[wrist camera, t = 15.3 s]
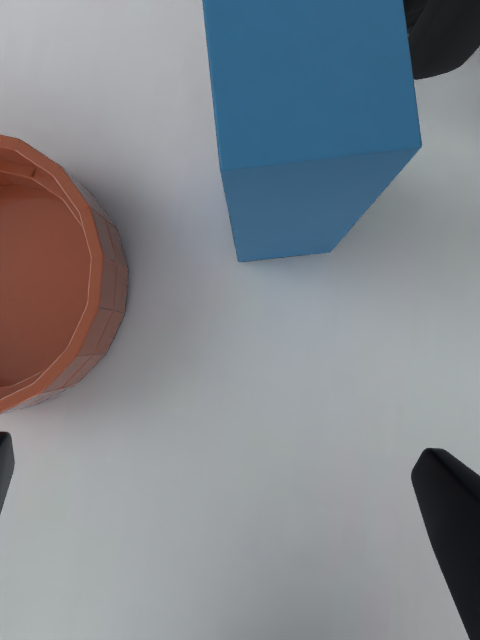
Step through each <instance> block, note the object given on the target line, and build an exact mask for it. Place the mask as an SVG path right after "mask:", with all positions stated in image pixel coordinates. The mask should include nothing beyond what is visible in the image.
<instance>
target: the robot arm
mask: <svg viewBox="0 0 480 640" xmlns="http://www.w3.org/2000/svg"><path fill="white" fill-rule="evenodd" d="M14 463H15V461H14V453H13V446H12V439H11V435H10V433H8V432H0V514H1V511H2V507H3V504H4V501H5V497H6V494H7V491H8V488H9V484H10V481H11V478H12V474H13V471H14ZM411 480H412V484H413V487H414V491H415V494H416V497H417V500H418V504H419V507H420V510H421V513H422V517H423V520H424V523H425V527H426V530H427V533H428V536H429V539H430V542H431V545H432V548H433V551H434V553H435V556H436V558H437V561H438V563H439V566H440V568H441V571H442V573H443V575H444V578H445V580H446V583H447V585H448V588H449V590H450V593H451V595H452V597H453V600H454V602H455V605H456V607H457V610H458V612H459V615H460V617H461V619H462V622H463V624H464V627H465V629H466V632H467V634H468V637H469V639H470V640H480V476H479V475H478V474H476V473H475V472H474V471H473V470H471V469H470V468H469V467H467V466H466V465H465V464H463V463H462V462H461V461H459V460H458V459H457V458H455V457H454V456H453V455H451V454H450V453H449V452H447V451H446V450H444V449H440V448H426V449H425V450H424V451H423V452H422V454H421V455H420V457H419V459H418V461H417V463H416V464H415V466H414V468H413V470H412V473H411Z"/></svg>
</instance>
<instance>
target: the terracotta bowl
mask: <svg viewBox="0 0 480 640" xmlns="http://www.w3.org/2000/svg"><path fill="white" fill-rule="evenodd" d="M127 269H128V267H127V263H126V259H125V256H124V252H123V249H122V245H121V241H120V238H119V234H118V230H117V229H116V226H115V225H114V224H113V222H112V221H111V219H110V218H109V217H108V215H107V214H106V212H105V211H104V210H103V208H102V207H101V206H100V204H99V203H98V201H97V200H96V199H95V197H94V196H93V195H92V194H91V193H90V192H89V191H88V190H87V189H86V188H85V187H83V186H82V185H81V184H80V183H79V182H78V181H77V180H76V179H75V178H73V177H72V176H71V175H70V174H69V173H68V172H67V171H66V170H65V169H63V168H62V167H61V166H60V165H59V164H57V163H55V162H54V161H52V160H51V159H49V158H48V157H46V156H45V155H43V154H42V153H40V152H39V151H37V150H36V149H34V148H33V147H31V146H30V145H28V144H27V143H25V142H24V141H22V140H20V139H17V138H13V137H9V136H4V135H0V415H1V414H4V413H8V412H11V411H14V410H18V409H21V408H25V407H28V406H31V405H35V404H38V403H40V402H42V401H44V400H46V399H48V398H50V397H52V396H54V395H56V394H58V393H60V392H63V391H65V390H67V389H69V388H71V387H73V386H75V385H76V384H77V383H78V382H79V381H80V380H81V379H82V378H83V377H84V376H85V375H86V374H87V373H88V372H89V371H90V370H91V369H92V368H93V367H94V366H95V365H96V364H97V363H98V362H99V360H100V359H101V358H102V357H103V356H104V355H105V354H106V353H107V351H108V349H109V347H110V345H111V343H112V340H113V338H114V336H115V334H116V332H117V329H118V327H119V325H120V323H121V321H122V318H123V316H124V313H125V307H126V294H127V282H128V270H127Z"/></svg>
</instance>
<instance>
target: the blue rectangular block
mask: <svg viewBox="0 0 480 640" xmlns="http://www.w3.org/2000/svg"><path fill="white" fill-rule="evenodd" d="M202 1H203V11H204V20H205V30H206V40H207V49H208V59H209V69H210V78H211V88H212V97H213V107H214V117H215V126H216V136H217V146H218V155H219V165H220V172H221V177H222V182H223V187H224V192H225V197H226V202H227V207H228V212H229V218H230V223H231V228H232V233H233V238H234V243H235V248H236V253H237V258H238V262H245V261H254V260H263V259H272V258H281V257H290V256H299V255H309V254H318V253H327V252H331V251H332V249H333V248H334V247H335V246H336V245H337V244H338V243H339V241H340V240H341V239H342V238H343V237H344V236H345V234H346V233H347V232H348V231H349V230H350V229H351V228H352V226H353V225H354V224H355V223H356V222H357V221H358V220H359V218H360V217H361V216H362V215H363V214H364V213H365V211H366V210H367V209H368V208H369V207H370V206H371V205H372V203H373V202H374V201H375V200H376V199H377V198H378V196H379V195H380V194H381V193H382V192H383V191H384V190H385V188H386V187H387V186H388V185H389V184H390V183H391V181H392V180H393V179H394V178H395V177H396V176H397V175H398V173H399V172H400V171H401V170H402V169H403V168H404V167H405V165H406V164H407V163H408V162H409V161H410V160H411V158H412V157H413V156H414V155H415V154H416V153H417V152H418V150H419V149H420V148H421V146H422V141H421V134H420V126H419V119H418V111H417V103H416V96H415V88H414V80H413V73H412V65H411V57H410V50H409V42H408V35H407V27H406V19H405V12H404V4H403V0H202Z"/></svg>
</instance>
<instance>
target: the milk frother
mask: <svg viewBox="0 0 480 640" xmlns="http://www.w3.org/2000/svg"><path fill="white" fill-rule="evenodd" d="M403 4H404V12H405V19H406V27H407V33H409V32H410V36H409V37H408V42H409V50H410V57H411V65H412V73H413V79H415V80H418V79H423V78H428V77H433V76H437V75H440V74H444V73H447V72H449V71H452V70H454V69H456V68H458V67H460V66H461V65H462V64H463V63H464V62H465V61H466V60H467V59H468V58H469V57H470V56H471V55H472V54H473V53H474V52H475V50H476V49H477V48H478V47H479V46H480V0H403Z"/></svg>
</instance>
